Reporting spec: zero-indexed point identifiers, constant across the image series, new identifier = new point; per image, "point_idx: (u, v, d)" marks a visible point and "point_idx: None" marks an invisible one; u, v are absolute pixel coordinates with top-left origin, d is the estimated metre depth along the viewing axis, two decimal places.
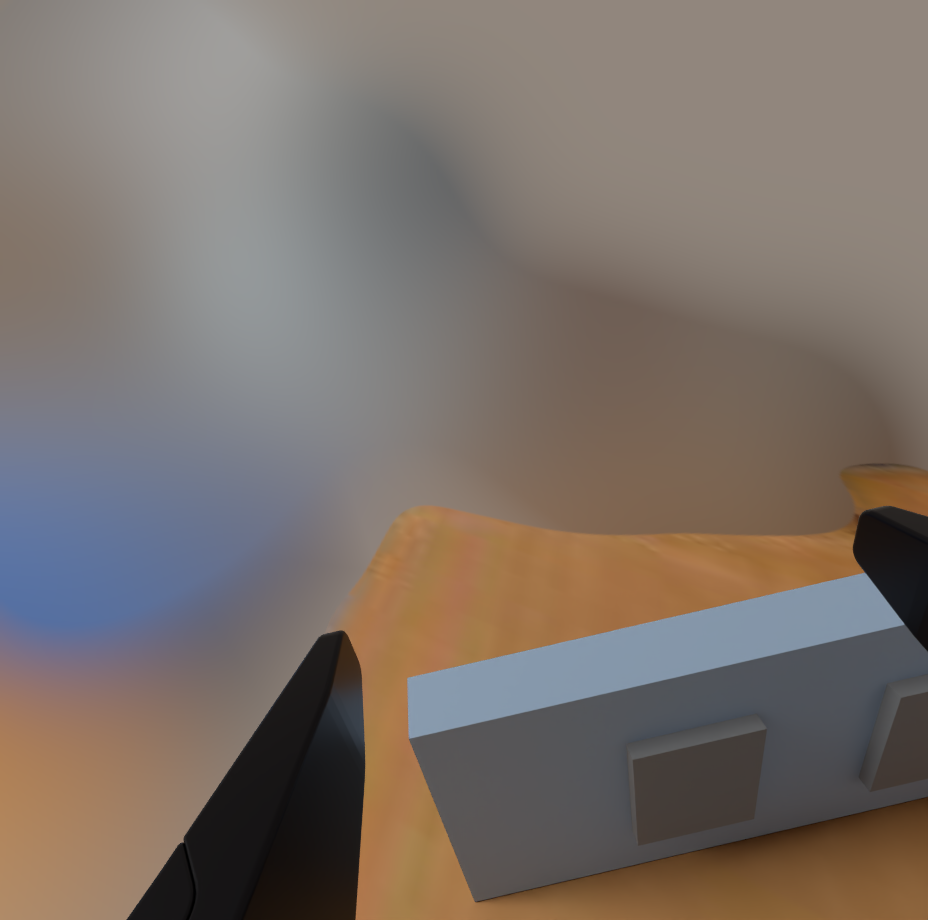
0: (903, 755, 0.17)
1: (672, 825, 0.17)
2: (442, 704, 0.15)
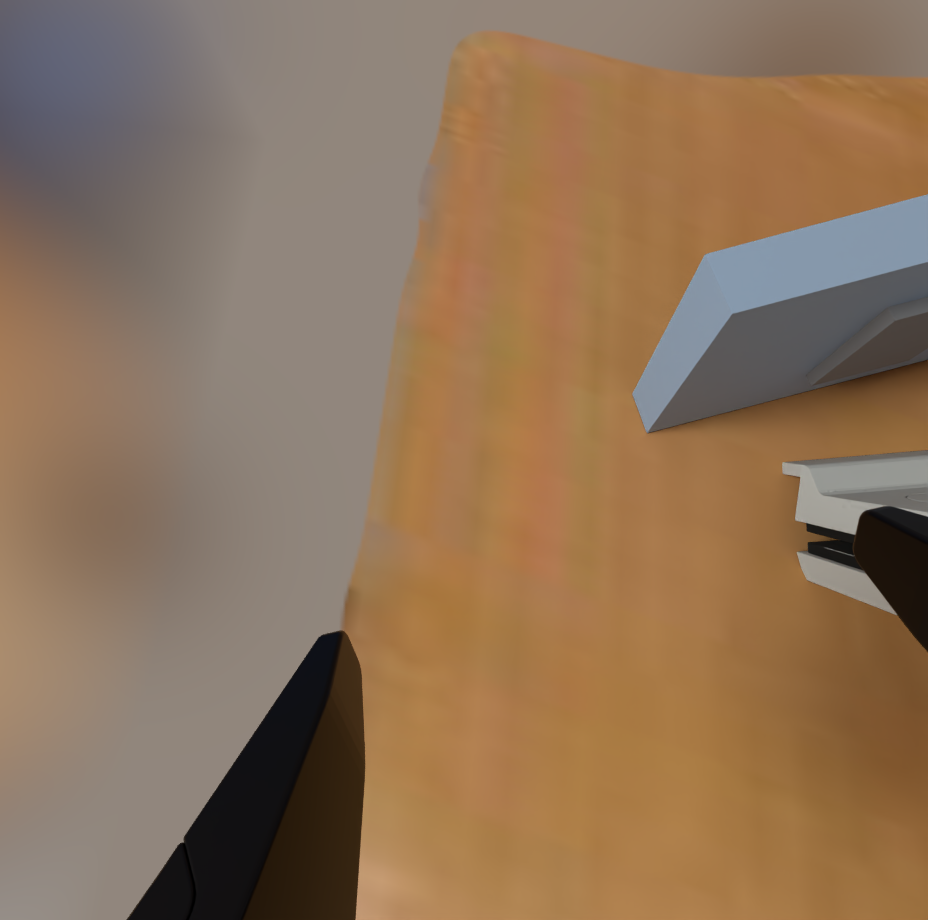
0: None
1: (851, 369, 0.21)
2: (756, 279, 0.15)
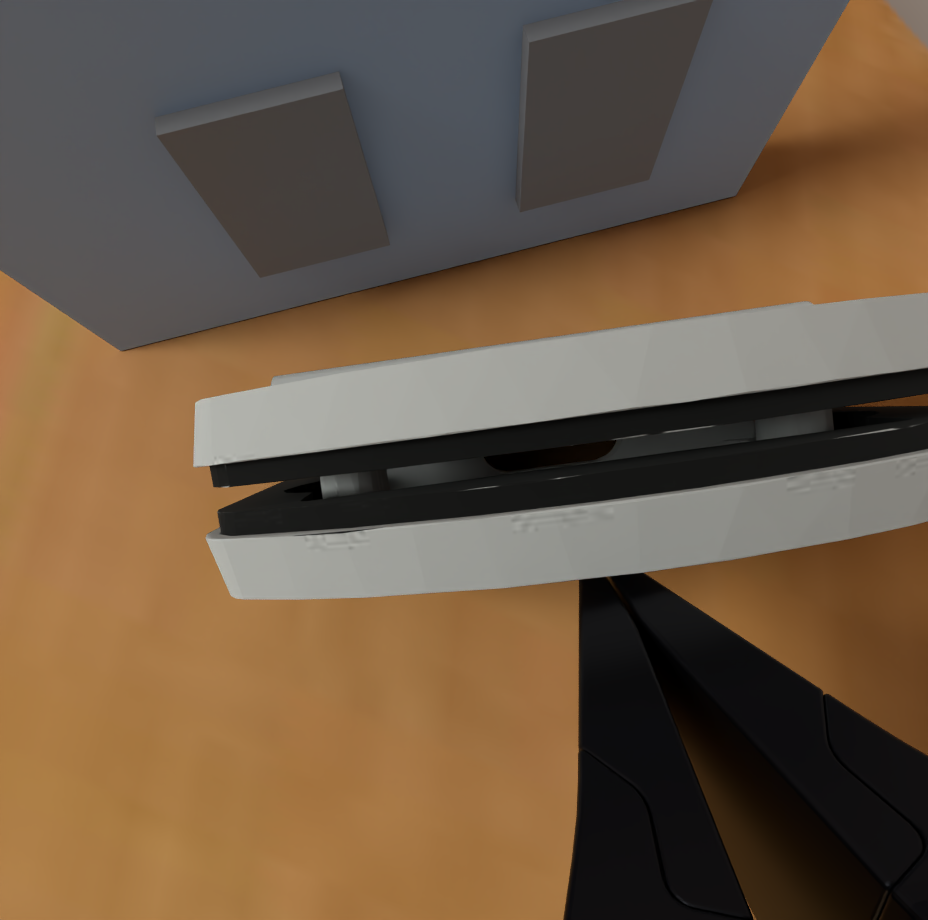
0: (550, 156, 0.14)
1: (288, 250, 0.15)
2: None
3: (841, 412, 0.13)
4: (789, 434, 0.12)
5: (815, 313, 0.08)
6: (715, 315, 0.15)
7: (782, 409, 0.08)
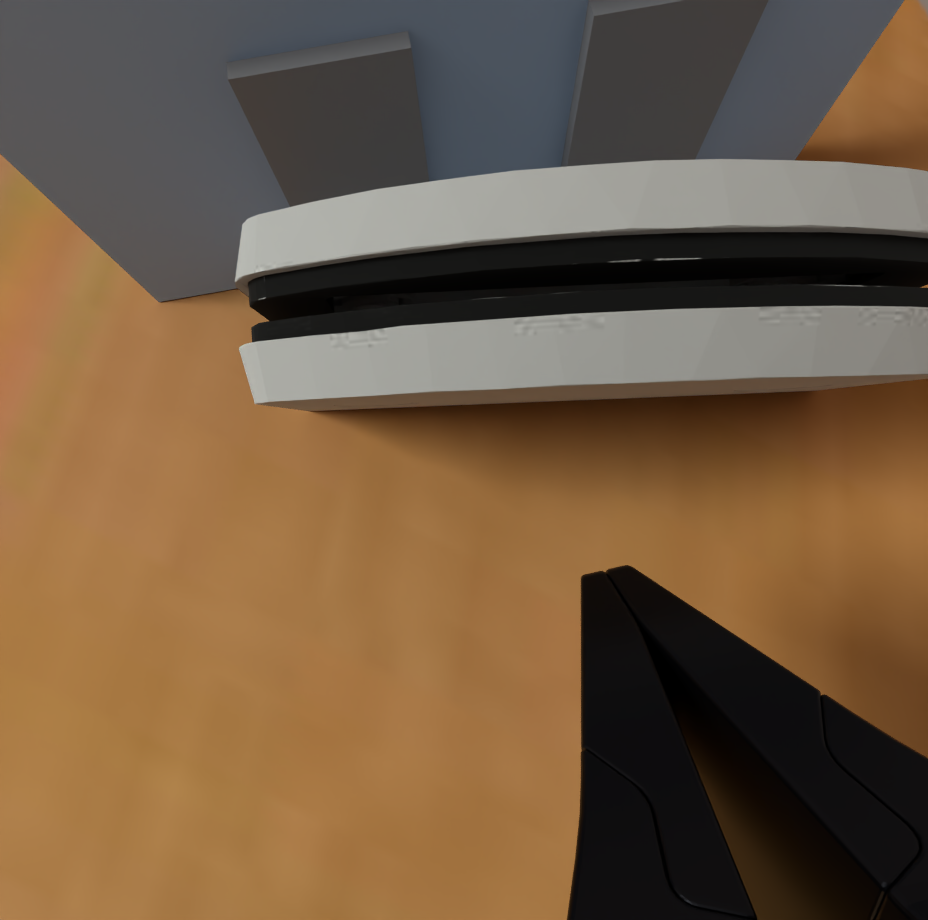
0: (599, 136, 0.15)
1: None
2: None
3: None
4: None
5: (799, 167, 0.09)
6: None
7: (762, 250, 0.09)
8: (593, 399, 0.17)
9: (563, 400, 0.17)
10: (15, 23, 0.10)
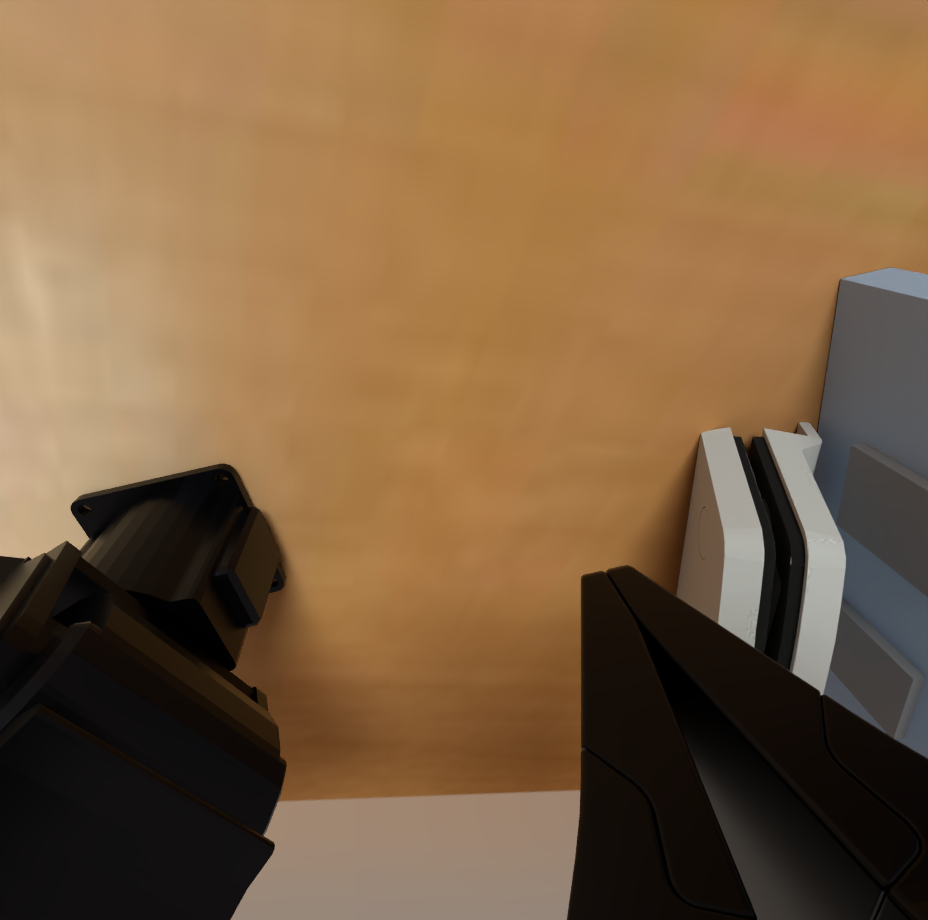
0: (849, 631, 0.24)
1: (861, 479, 0.21)
2: None
3: None
4: None
5: None
6: None
7: None
8: (677, 595, 0.28)
9: (680, 583, 0.27)
10: None
